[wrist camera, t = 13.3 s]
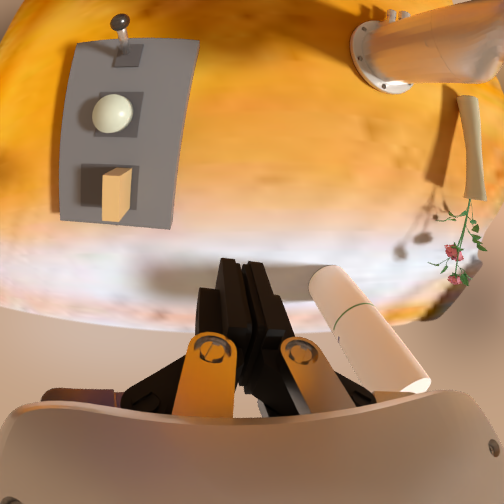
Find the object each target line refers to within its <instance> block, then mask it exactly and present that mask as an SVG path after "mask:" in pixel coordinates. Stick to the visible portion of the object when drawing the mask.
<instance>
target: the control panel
mask: <svg viewBox="0 0 504 504" xmlns="http://www.w3.org/2000/svg"><path fill="white" fill-rule="evenodd" d="M128 39H129V44H130V48H131V52H130V53H129V54H127V55H124V54H123V53H122V49H121V45H120V41H119V39H110V40H99V41H90V42H83V43H77V46H76V50H75V53H74V57H73V62H72V66H71V70H70V75H69V80H68V86H67V91H66V97H65V104H64V111H63V119H62V129H61V141H60V158H59V204H60V220H62V221H75V222H88V223H100V224H112V225H124V226H135V227H147V228H158V229H168V230H170V228H171V225H172V220H173V209H174V198H175V189H176V180H177V171H178V163H179V156H180V149H181V142H182V135H183V129H184V122H185V116H186V111H187V105H188V100H189V94H190V89H191V84H192V79H193V75H194V70H195V65H196V61H197V57H198V52H199V48H200V41H199V40H189V39H172V38H128ZM110 94H116V95H120V96H123V97H125V98H127V99H128V100H129V101H130V102H131V104H132V106H133V117H132V120H131V122H130V123H129V125H128V126H127V127H126V128H124V129H123V130H121V131H119V132H113V133H104V132H101V131H99V130H98V129H97V128H96V127H95V125H94V123H93V120H92V113H93V109H94V107H95V105H96V104H97V102H98V101H99V100H100V99H101V98H103V97H105V96H107V95H110ZM115 168H132V176H131V192H130V209H129V210H128V211H127V212H126V213H125V215H124V216H123V217H122V219H121V220H120V221H119V222H112V221H102V183H103V175H104V174H106V173H108V172H109V171H111V170H113V169H115Z"/></svg>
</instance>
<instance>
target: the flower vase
mask: <svg viewBox="0 0 504 504" xmlns="http://www.w3.org/2000/svg"><path fill="white" fill-rule="evenodd" d="M456 99H457V103H458V107H459V112H460V117H461V122H462V127H463V133H464V140H465V147H466V187H465V192H464V198H467V199H469V203H468V208H467V209H466V210H467V211H464V212H462V214H461V215H458V217H459V216H465V215H466V218H465V223H464V227H463V231H462V234H461V237H460V240H459V243H458V245H457V246H456V244H455V242H454V245H449V246H450V247H447V246H448V245H445V248H446V249H447V250H445V251H446V254H447V256H448V257H450V258H451V259H452V260H455V261H457V263H458V261H461V260H462V259H464V258H463V256H462V253H461V251H462V250H464V249H460V248H461V244H462V240H463V236H464V232H465V227H467V226H466V222H467V217H468V211H469V206H470V202H471V199H475V200H482V201H487V197H486V191H485V185H484V175H483V160H482V147H481V122H480V112H479V103H478V99H477V98H476V97H473V96H467V95H463V96H458V97H457V98H456ZM471 205H472V203H471ZM449 215H450V216H453V217H455V218H456V216H454V215H453V214H452V213H451V212H450V211H449ZM449 218H451V217H449ZM455 218H454V219H448V218H447V219H448V220H453V221H456V220H455ZM468 218H469V217H468ZM469 219H470V218H469ZM470 220H471V219H470ZM436 221H440V220H436ZM444 221H446V220H444ZM444 221H443V222H444ZM470 223H472V225H473V224H476V221H475V220H473V214H472V220H471V221H470ZM467 230H468V229H467ZM472 231H475V232H477V233H478V231H479V226H478V224H477V225H476V226H474V227H473V229H472ZM468 232H469V231H468ZM469 233H470V232H469ZM470 235H471V236H472V237H473V242H474V243H477V248H478V249H480V250H482V251H487V250H486V249H485V248H484V247H482V246H481V245H480V244H482V243H481V242H480V241H477V240H479V239H480V238H481V237H480V236H477V235H473V234H470ZM460 241H461V243H460ZM459 244H460V247H458V246H459ZM450 258H448V260H449V259H450ZM446 260H447V259H446ZM448 260H447V261H448ZM444 261H445V260H444ZM444 261H443V262H444ZM428 263H429V262H428ZM441 263H442V262H441ZM441 263H440V264H441ZM457 263H456V270H457V266H458V265H457ZM430 264H432V263H430ZM446 264H447V262H446ZM433 265H435V264H433ZM435 266H439V264H436V265H435ZM458 267H459V266H458ZM447 268H448V266H447V265H446V266H445V267H444V269H443V270H442V272H441V273H443V272H444V271H445V270H446V269H447ZM459 268H460V267H459ZM461 269H462V268H460V270H461ZM456 270H455V273H452V275H450V276H449V277H448V278H449V279H448V281H450V282H451V283H453V284H459V283H462V282H463V283H464V284H465V285H467V286H468V280H467V277H468V278H470V277H469V276H467V274H466V273H465V271H464V274H462V275H461V276H460V277H459V275H458V274H456ZM463 270H464V269H463ZM461 272H462V271H461ZM441 273H440V274H441ZM466 276H467V277H466ZM460 279H461V280H460ZM470 279H472V278H470ZM460 281H462V282H460Z"/></svg>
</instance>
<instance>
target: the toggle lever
mask: <svg viewBox="0 0 504 504" xmlns="http://www.w3.org/2000/svg"><path fill="white" fill-rule="evenodd" d="M129 23H130V18H129V16H128V15H126V14H118V15H116V16H114V17H113V18H112V20H111V22H110V26H111V28H112V29H113V30H115V31H117V34H118V38H119V41H120V45H121V49H122V53H123V54H124V55H127V54H129V53H130V52H131V48H130V44H129V39H128V34H127V29H126V27H127V26H128V25H129Z"/></svg>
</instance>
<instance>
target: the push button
mask: <svg viewBox="0 0 504 504" xmlns="http://www.w3.org/2000/svg"><path fill="white" fill-rule="evenodd" d="M132 117H133V106H132V104H131V102H130V101H129V100H128V99H127V98H125V97H123V96H120V95H116V94H110V95H107V96H105V97H103V98H101V99H100V100H99V101H98V102H97V104H96V105H95V107H94V109H93V113H92V120H93V123H94V125H95V127H96V128H97V129H98V130H99V131H101V132H104V133H113V132H119V131H121V130H123V129H124V128H126V127H127V126H128V125H129V123H130V122H131V120H132Z"/></svg>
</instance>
